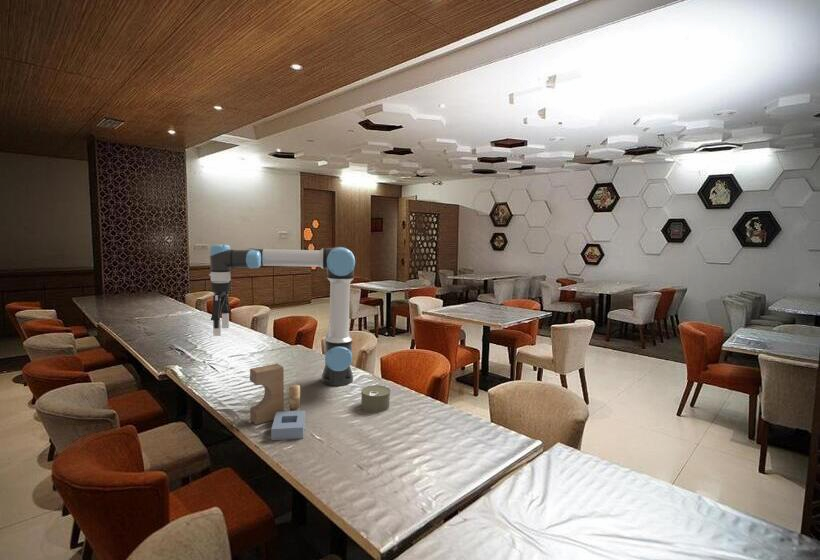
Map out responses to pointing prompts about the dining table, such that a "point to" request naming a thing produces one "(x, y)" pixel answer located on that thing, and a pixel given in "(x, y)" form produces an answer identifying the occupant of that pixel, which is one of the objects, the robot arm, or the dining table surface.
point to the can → (375, 398)
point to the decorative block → (268, 392)
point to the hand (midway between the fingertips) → (221, 331)
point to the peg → (294, 397)
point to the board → (288, 425)
